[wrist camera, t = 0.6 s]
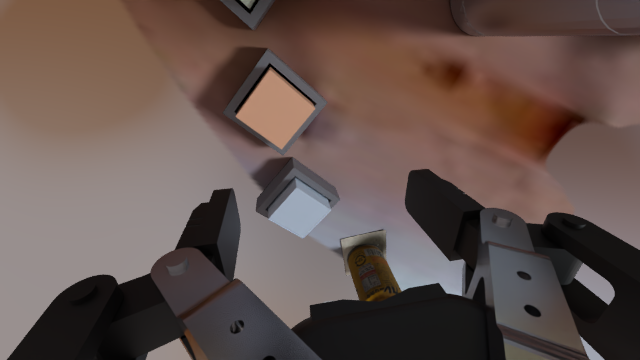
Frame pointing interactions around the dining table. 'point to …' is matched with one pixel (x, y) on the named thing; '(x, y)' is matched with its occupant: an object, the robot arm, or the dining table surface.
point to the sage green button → (248, 3)
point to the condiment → (369, 266)
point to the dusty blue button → (298, 208)
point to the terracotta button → (275, 109)
